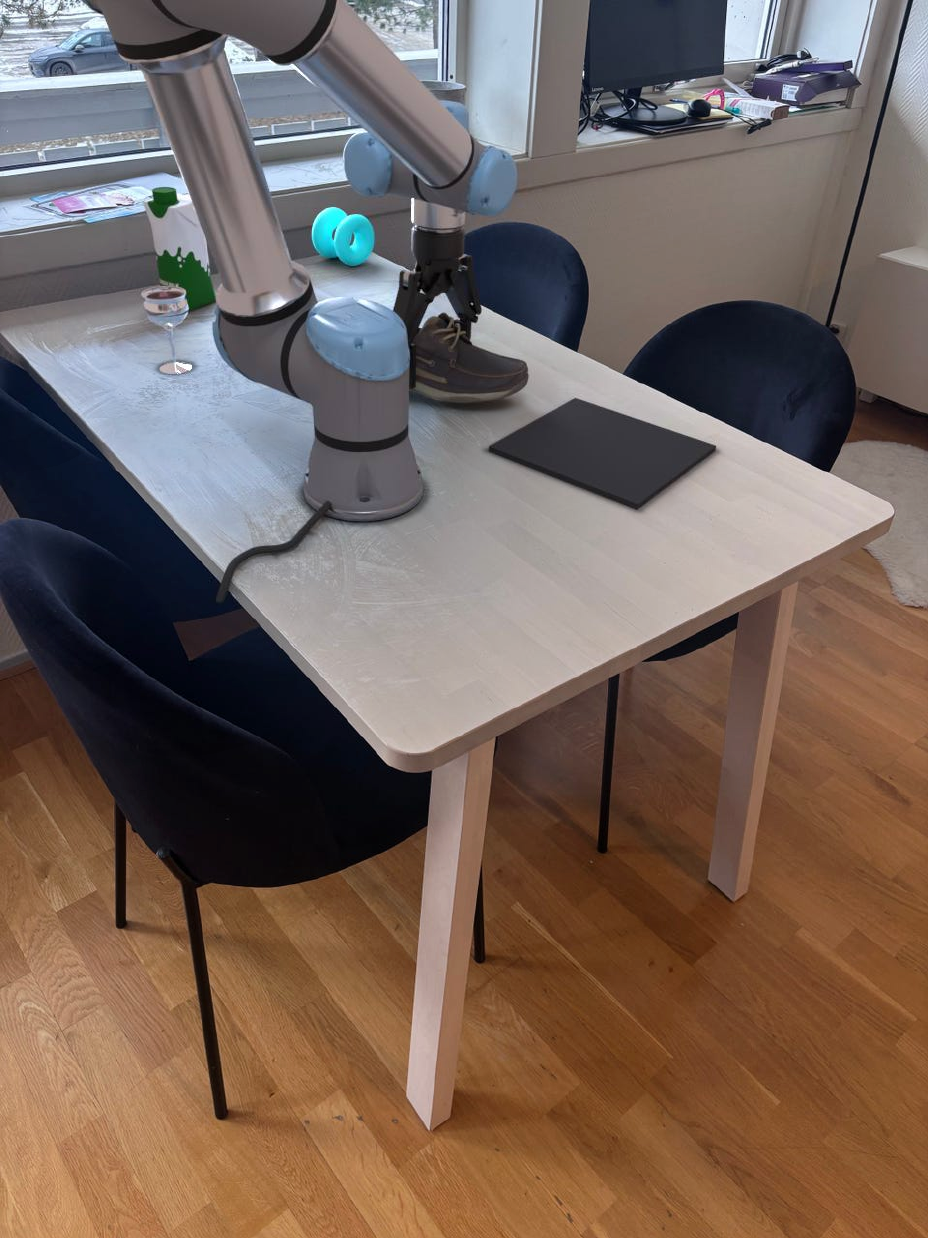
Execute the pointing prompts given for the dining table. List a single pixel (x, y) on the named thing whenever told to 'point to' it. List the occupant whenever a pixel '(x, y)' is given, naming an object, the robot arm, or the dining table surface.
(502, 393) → the boat shoe
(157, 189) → the milk carton
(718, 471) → the dining table surface
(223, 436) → the dining table surface
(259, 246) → the robot arm
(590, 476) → the boot mat
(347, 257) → the donuts
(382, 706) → the dining table surface
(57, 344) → the dining table surface
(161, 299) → the wineglass
